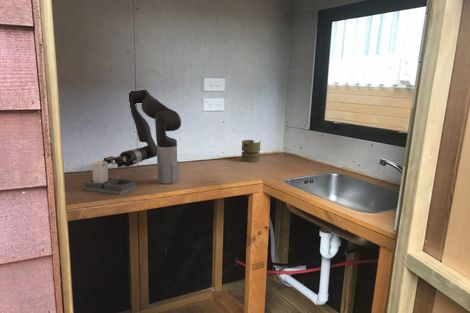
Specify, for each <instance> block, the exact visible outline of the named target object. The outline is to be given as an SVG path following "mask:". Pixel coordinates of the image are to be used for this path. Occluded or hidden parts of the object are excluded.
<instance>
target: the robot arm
mask: <svg viewBox="0 0 470 313" xmlns="http://www.w3.org/2000/svg"><path fill="white" fill-rule="evenodd" d="M129 102H130V108H131V111H130V113H132V114H131V117H132V119H133V123H134V125H135V129H136V132H137V137H138V141H139V142H140V143H146V144H147V145H144V146H142V147H138V148H134V149H128V150H125V151H122V152H121V153H120V154H119V155H117V156H114V155H112V156H108V157H104V158H103V160H102V161H103V162H107V165H112V166H113V165H117V168H121V167H126V168H127V167H131V166H133V165H137V164H138V163H140V162H144V161H146V160H148V159H149V160H150V159H153V158H155V157H156V161H157V162H156V167H157V168H156V169H157V170H156V172H157V183H158V184H164V185H165V184H167V185H168V184H173V185H174V184H175V183H177V182H178V181H180V163H179V161H178V142H177V139H176V138H173V137H169V136H168V135H167V133H166V132H174V131H177V130H179V129H180V128H181V125H182V119H181V116H180V114H179V113H178V112H177V111H176V110H173V109H172V108H169V107H167V106H166V105H165V104H163V103H162V102H161V101H159V100H158V99H156V98H155V97H154V96H153V95H151V93H149V91H148V90H147V89H146V90H141V91H140V90H139V91H131V92H130V93H129ZM136 103H142V104H141V110H142V112H143V113H144V114H145V115H146V116H147V117H148V118H151V119H153V120H154V126H155V139H156V142H155V140H154V138H153V136H152V133H151V126H150V125H149V122H148V121H147V120H146V119H145V118H144V117H143V115H142V114H141V113H140V112H139V111H138V108H137V105H135V104H136Z"/></svg>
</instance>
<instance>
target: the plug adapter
mask: <svg viewBox="0 0 470 313" xmlns="http://www.w3.org/2000/svg"><path fill="white" fill-rule="evenodd" d="M91 165H92V166H91V168H92V179H93V183H103V182H106V181H108V177H109V169H108V165H109V164H107V162H103V160H99V161H96V162H92V163H91Z"/></svg>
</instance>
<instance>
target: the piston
mask: <svg viewBox="0 0 470 313" xmlns="http://www.w3.org/2000/svg"><path fill="white" fill-rule="evenodd" d="M254 140H255V139H245V140H242V141H241V162H243V163H249V164H250V163H254V164H255V163H259V162H261V140H260V141H258V142H254Z"/></svg>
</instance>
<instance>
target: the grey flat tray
mask: <svg viewBox="0 0 470 313" xmlns="http://www.w3.org/2000/svg"><path fill="white" fill-rule="evenodd" d="M136 182H137V181H136V180H133V179H132V180H131V179H124V178H118V179H117V178H116V177H110V176H108V181H106V182H103V183H93V178H92V179H90V180H88V181H84V186H82V190H83V191H91V192H98V193H103V194H104V193H105V194H113V195H123V194H125V193H127V192H129V191H131V190H134V189H136V188H137V186H138V185H137V183H136Z"/></svg>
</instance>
